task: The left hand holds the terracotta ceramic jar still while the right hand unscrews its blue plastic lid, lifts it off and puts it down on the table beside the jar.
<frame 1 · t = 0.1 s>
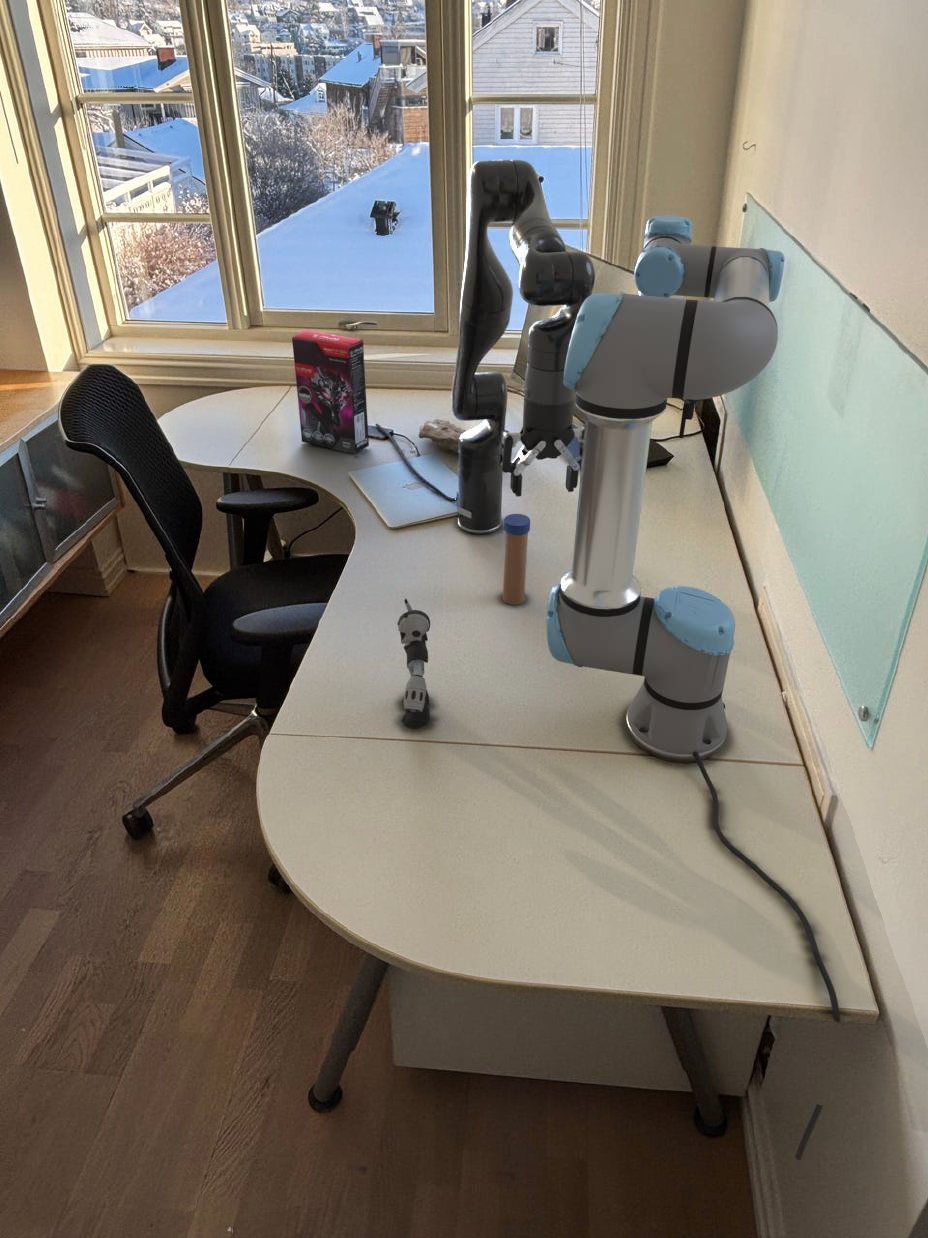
left hand: (543, 492, 146), 29 cm above the table, tool pointing down, fingers open, 8 cm apart
right hand: (643, 431, 170), 28 cm above the table, tool pointing down, fingers open, 13 cm apart
stone: (455, 449, 232), on the table
robot: (416, 712, 146), on the table
lid: (517, 521, 165), point 17 cm above the table, screwed on, not yet turned
graphics card box: (335, 445, 234), on the table
jar: (513, 599, 174), on the table
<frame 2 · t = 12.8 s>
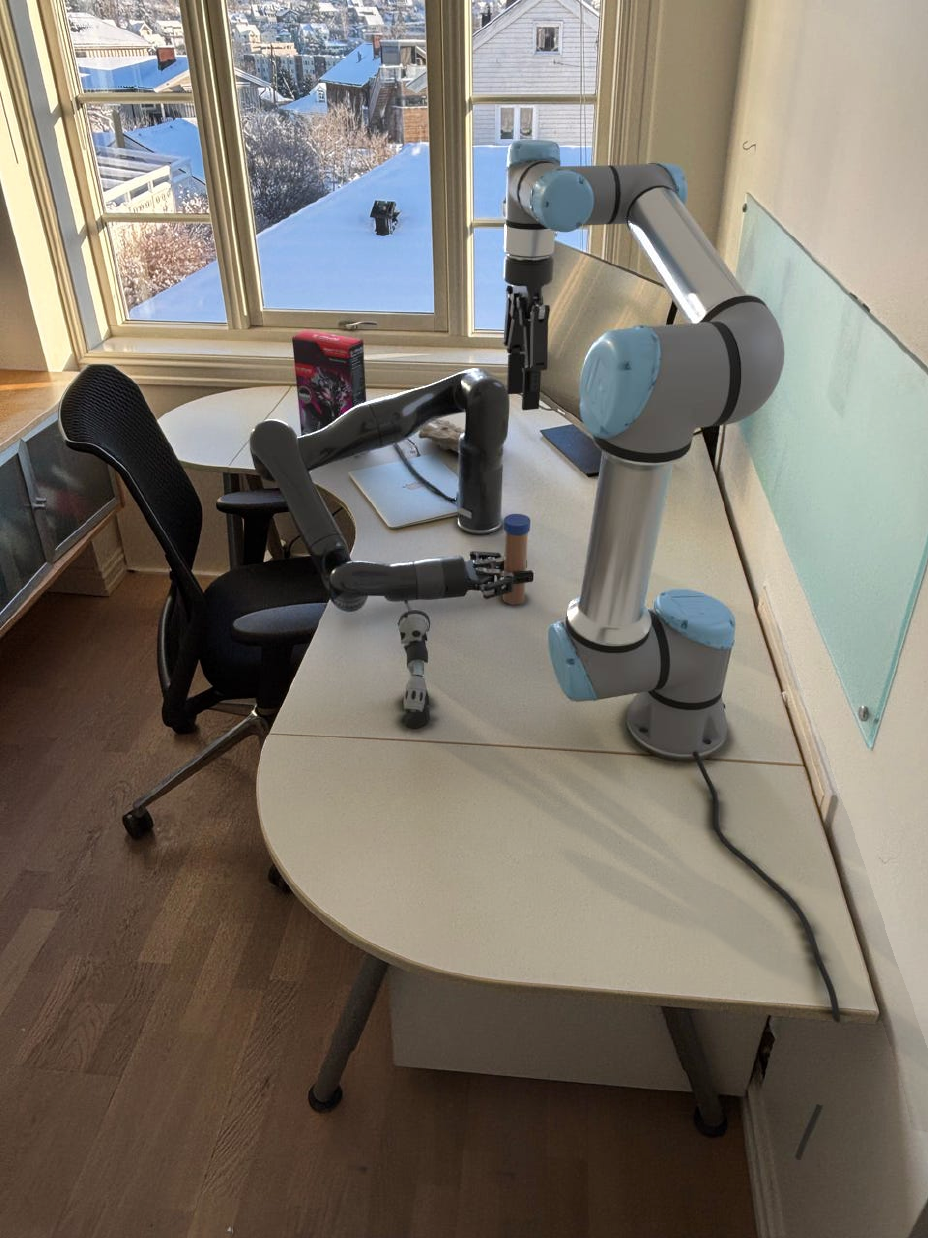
left hand: (529, 569, 171), 6 cm above the table, tool horizontal, fingers closed on jar, 4 cm apart
right hand: (522, 400, 153), 39 cm above the table, tool pointing down, fingers open, 7 cm apart
jar: (513, 599, 174), on the table, touching left hand
everything else where it was.
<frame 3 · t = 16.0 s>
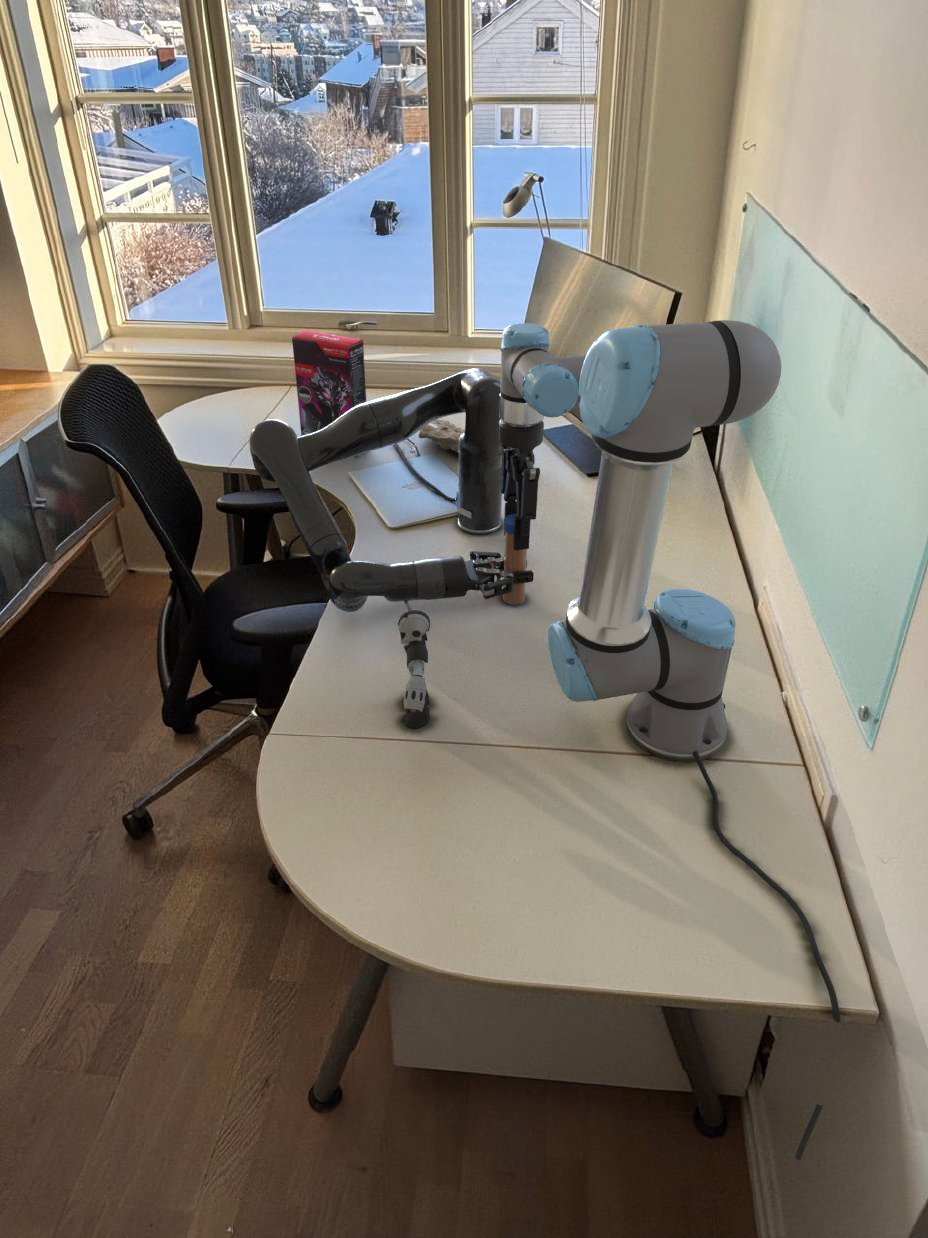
left hand: (529, 569, 171), 6 cm above the table, tool horizontal, fingers closed on jar, 4 cm apart
right hand: (516, 541, 167), 12 cm above the table, tool pointing down, fingers closed on lid, 5 cm apart
lid: (517, 521, 165), point 17 cm above the table, screwed on, not yet turned, touching right hand
jar: (513, 599, 174), on the table, touching left hand
everything else where it was.
when the right hand's fingers open (13 cm above the table, at t = 17.3 s): lid stays where it is, point 17 cm above the table.
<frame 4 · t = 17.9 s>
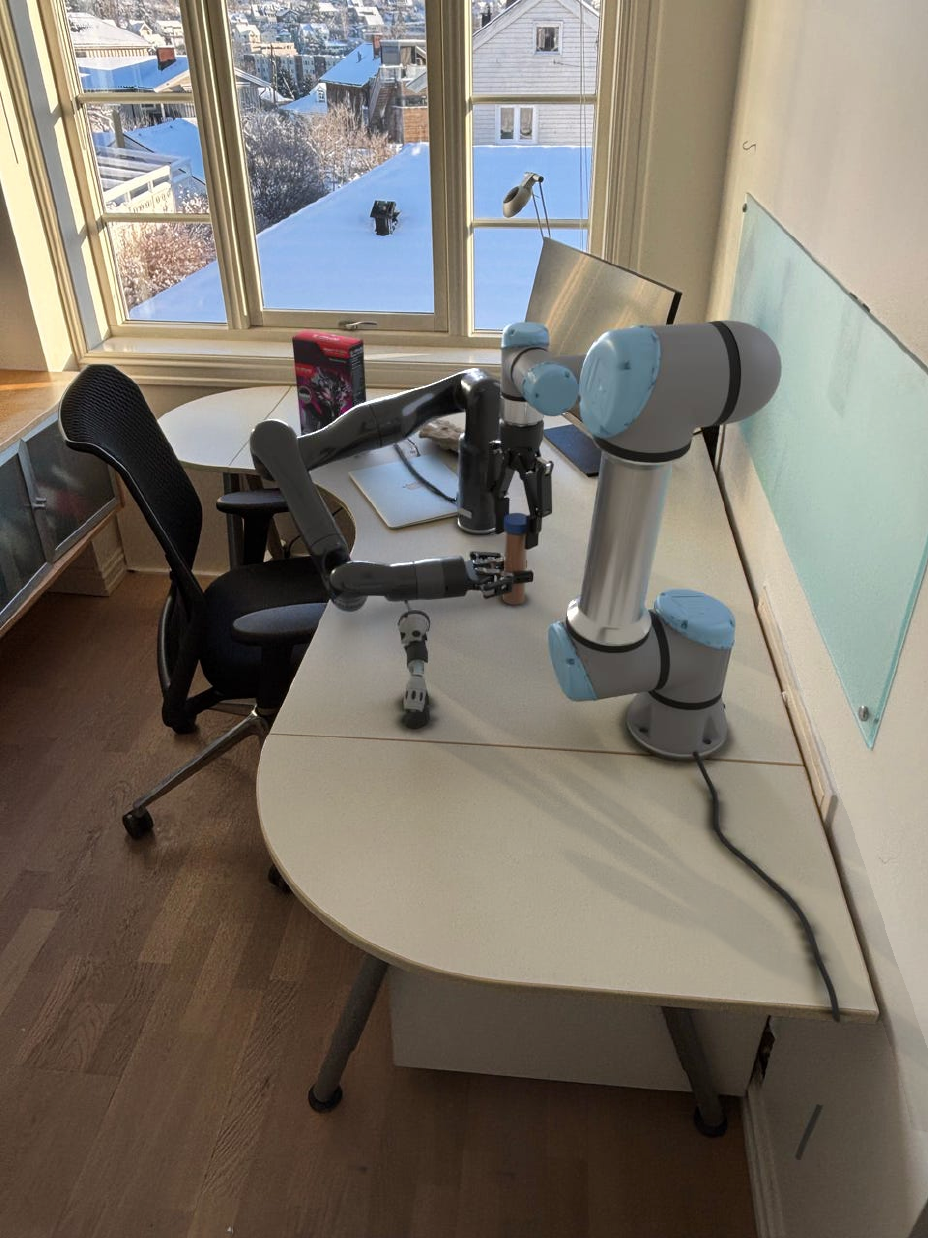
left hand: (529, 569, 171), 6 cm above the table, tool horizontal, fingers closed on jar, 4 cm apart
right hand: (516, 538, 167), 13 cm above the table, tool pointing down, fingers open, 7 cm apart
lid: (517, 520, 165), point 17 cm above the table, turned 84° so far, risen 0.2 cm, still on its thread
jar: (513, 599, 174), on the table, touching left hand
everything else where it was.
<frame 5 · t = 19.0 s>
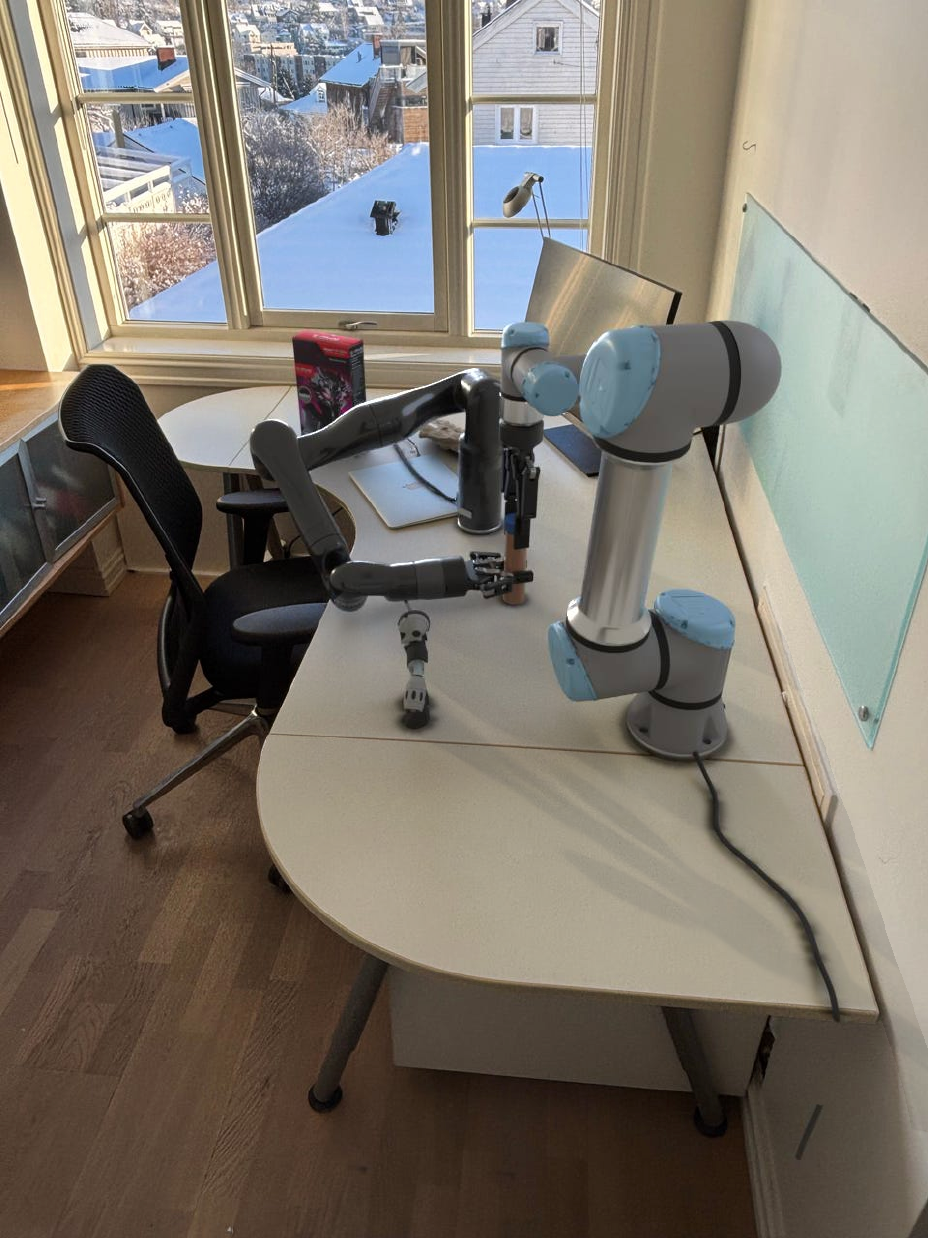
left hand: (529, 569, 171), 6 cm above the table, tool horizontal, fingers closed on jar, 4 cm apart
right hand: (516, 540, 167), 13 cm above the table, tool pointing down, fingers closed on lid, 5 cm apart
lid: (517, 520, 165), point 17 cm above the table, turned 84° so far, risen 0.2 cm, still on its thread, touching right hand
jar: (513, 599, 174), on the table, touching left hand
everything else where it was.
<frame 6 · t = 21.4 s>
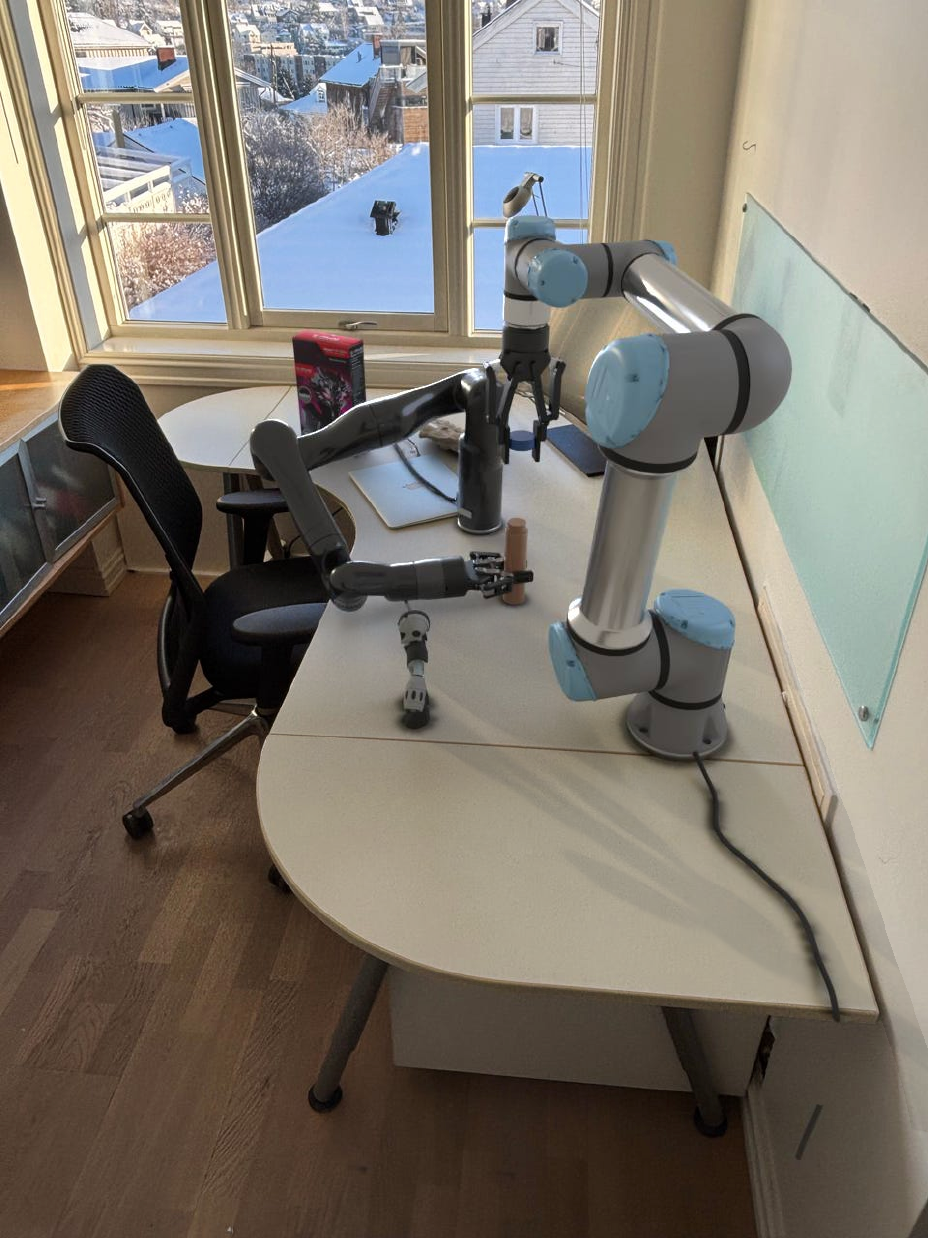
left hand: (529, 569, 171), 6 cm above the table, tool horizontal, fingers closed on jar, 4 cm apart
right hand: (520, 459, 158), 29 cm above the table, tool pointing down, fingers closed on lid, 5 cm apart
lid: (521, 437, 156), point 33 cm above the table, off its thread, touching right hand
jar: (513, 599, 174), on the table, touching left hand
everything else where it was.
when the right hand's fingers open (0 cm above the table, at t = 29.9 s): lid drops 3 cm, point 2 cm above the table.
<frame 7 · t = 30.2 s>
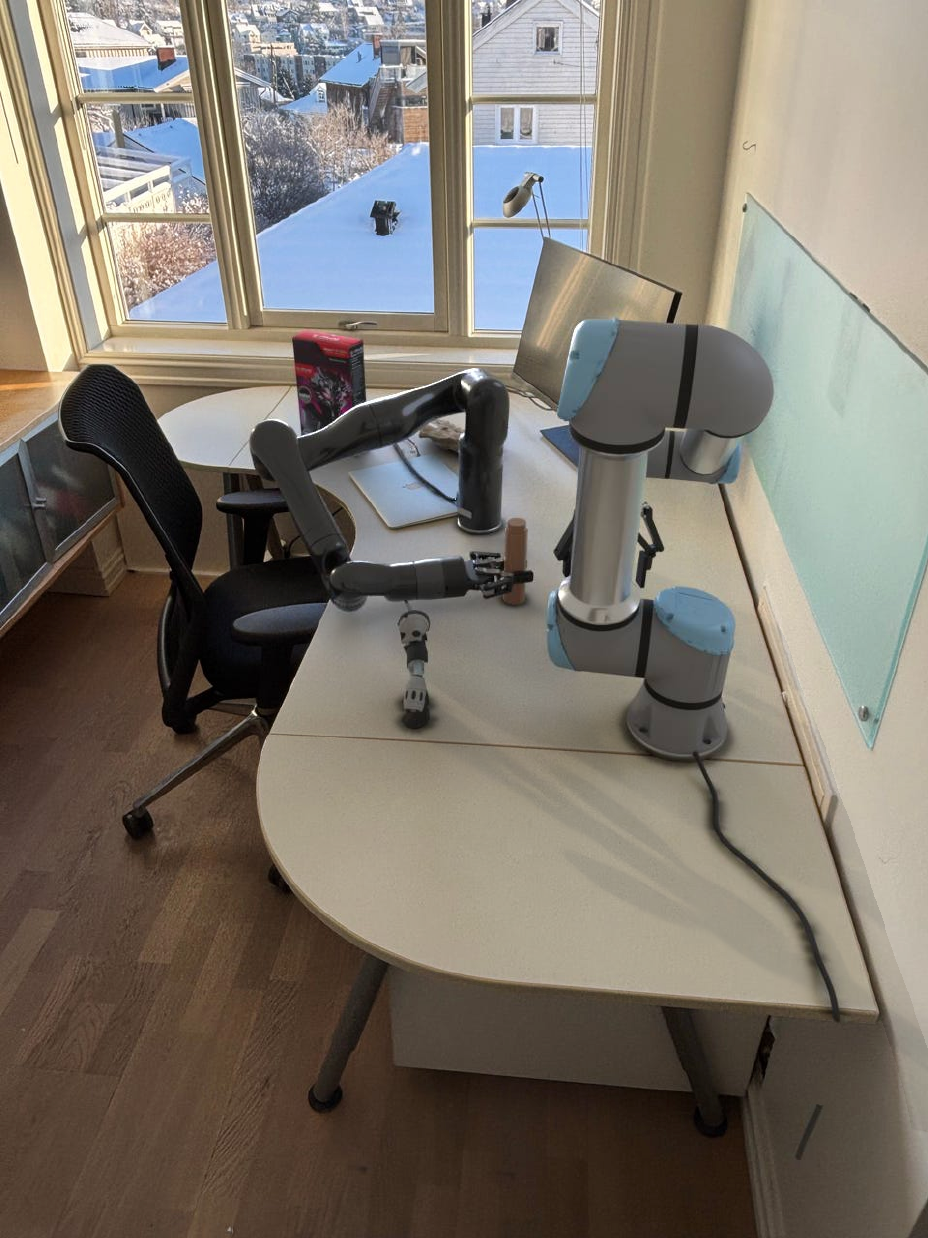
left hand: (529, 569, 171), 6 cm above the table, tool horizontal, fingers closed on jar, 4 cm apart
right hand: (605, 587, 170), 4 cm above the table, tool pointing down, fingers open, 13 cm apart
lid: (603, 596, 172), point 2 cm above the table, off its thread
jar: (513, 599, 174), on the table, touching left hand
everything else where it was.
when the left hand's fingers open (6 cm above the table, at t = 30.4 s): jar stays where it is, on the table.
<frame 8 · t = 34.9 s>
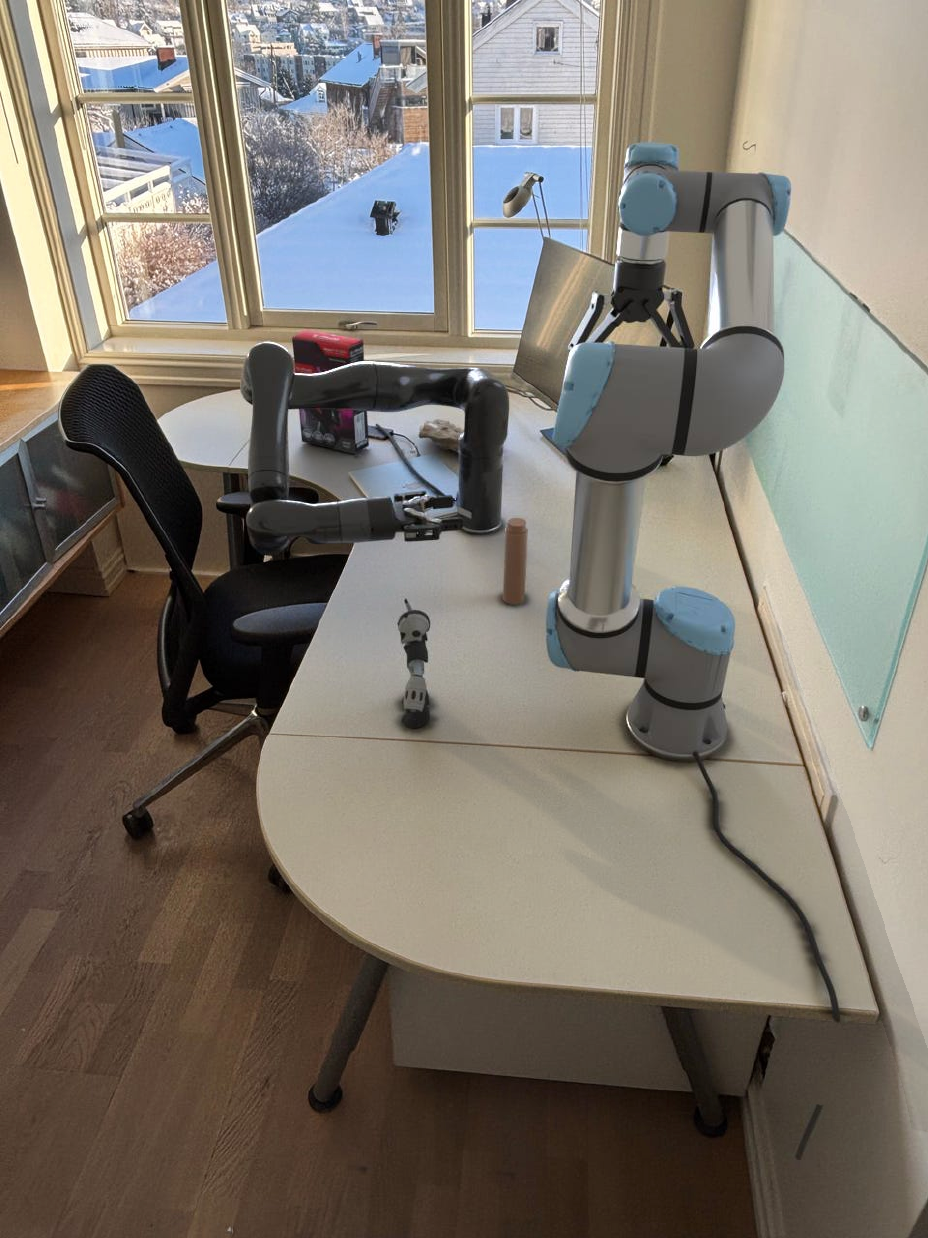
left hand: (457, 512, 162), 19 cm above the table, tool horizontal, fingers open, 8 cm apart
right hand: (626, 394, 150), 41 cm above the table, tool pointing down, fingers open, 13 cm apart
jar: (513, 599, 174), on the table
everything else where it was.
at the end: lid came off its thread; lid point 1.5 cm above the table; the left hand is holding nothing; the right hand is holding nothing; jar tilted 0°; jar moved 0.0 cm from its start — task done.
